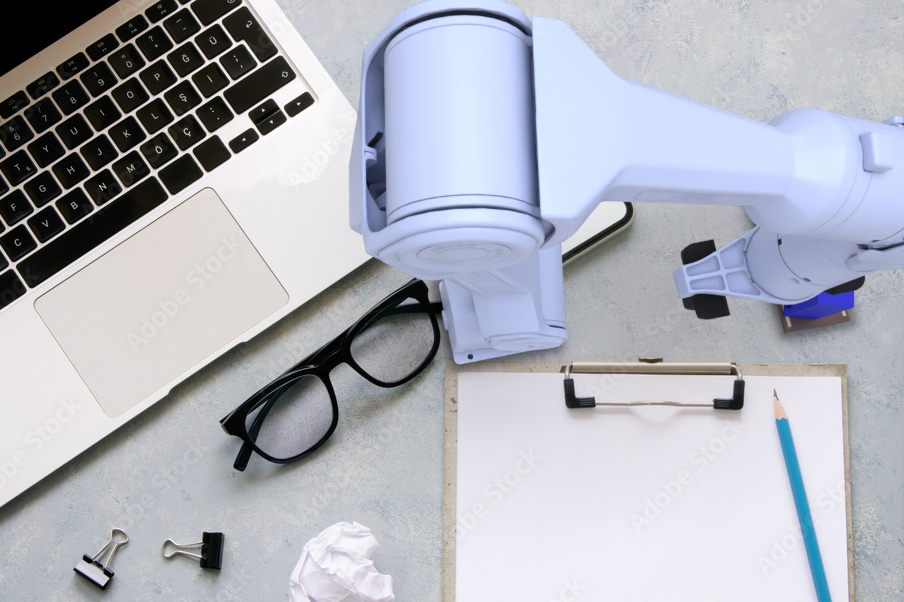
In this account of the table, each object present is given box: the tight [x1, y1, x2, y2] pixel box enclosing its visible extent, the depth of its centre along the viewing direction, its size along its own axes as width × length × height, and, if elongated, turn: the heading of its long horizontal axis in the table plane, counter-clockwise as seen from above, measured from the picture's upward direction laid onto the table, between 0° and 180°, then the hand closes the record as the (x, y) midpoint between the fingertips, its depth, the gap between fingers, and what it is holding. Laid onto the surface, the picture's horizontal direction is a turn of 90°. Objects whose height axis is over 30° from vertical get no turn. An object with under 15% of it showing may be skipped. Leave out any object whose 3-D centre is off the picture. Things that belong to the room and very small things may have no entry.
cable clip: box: [783, 291, 855, 319], centre depth 67 cm, size 12×4×6 cm, turn 174°
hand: (732, 287), depth 61 cm, fingers open, 7 cm apart
